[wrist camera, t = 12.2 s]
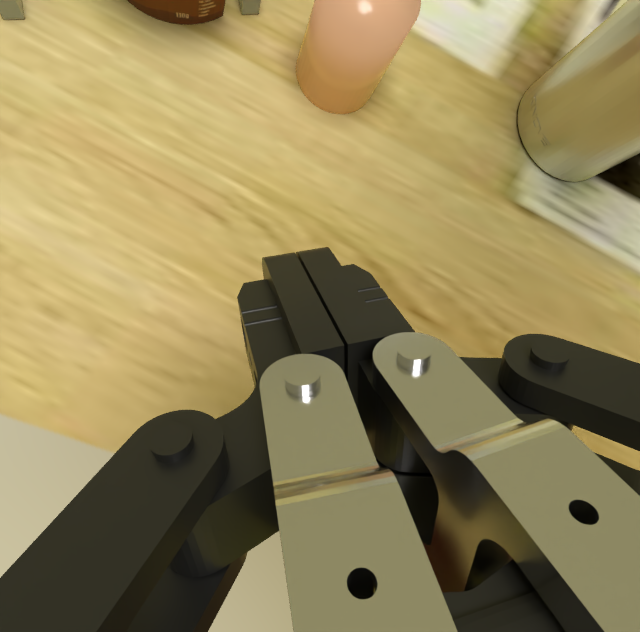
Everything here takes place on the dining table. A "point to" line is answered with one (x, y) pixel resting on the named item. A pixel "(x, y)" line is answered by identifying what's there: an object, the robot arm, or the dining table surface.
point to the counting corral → (10, 7)
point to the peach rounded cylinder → (351, 49)
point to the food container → (181, 10)
